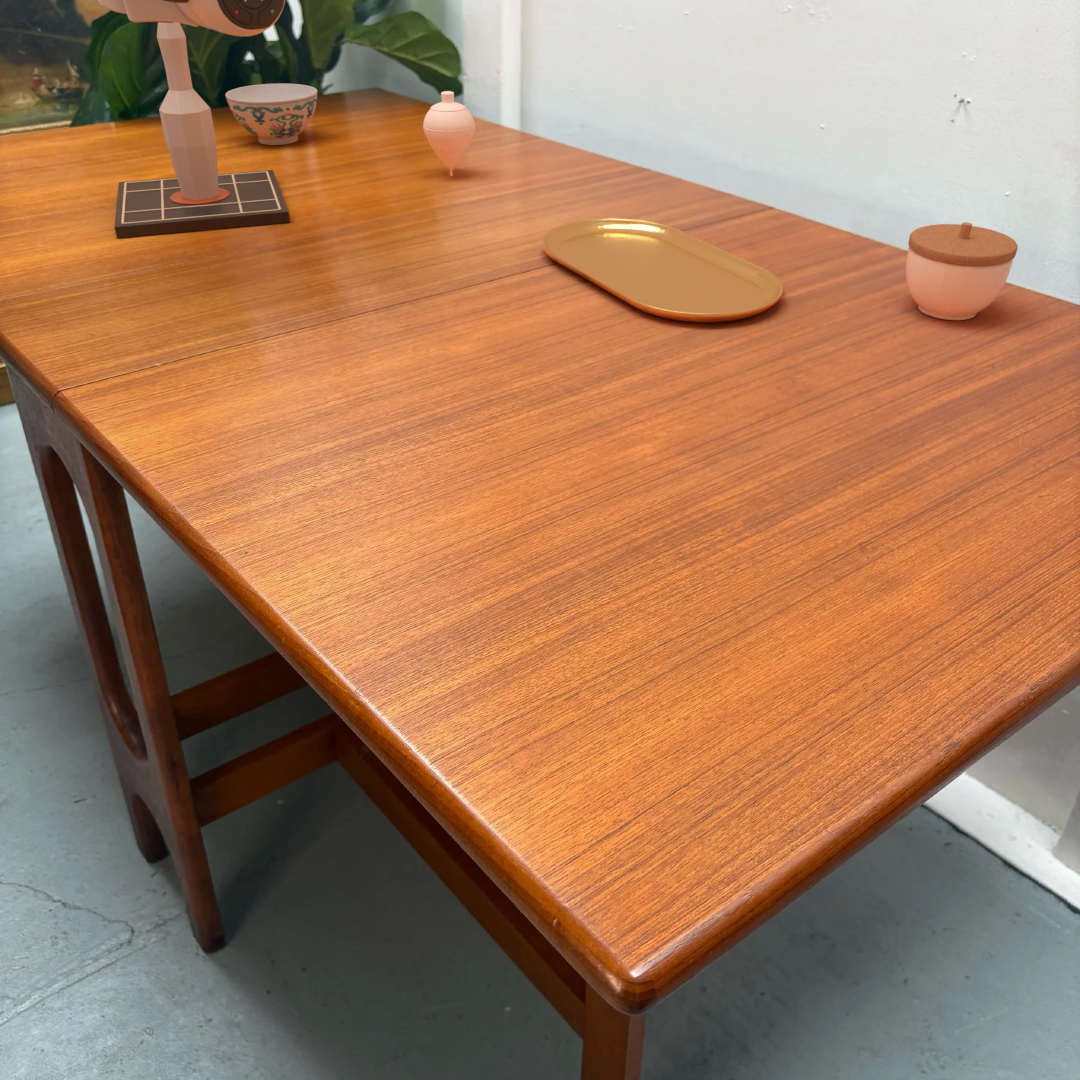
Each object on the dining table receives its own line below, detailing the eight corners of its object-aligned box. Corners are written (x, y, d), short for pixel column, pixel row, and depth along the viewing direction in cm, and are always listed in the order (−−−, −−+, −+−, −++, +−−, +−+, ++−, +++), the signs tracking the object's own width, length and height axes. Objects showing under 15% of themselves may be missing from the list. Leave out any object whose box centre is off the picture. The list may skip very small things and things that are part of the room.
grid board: (116, 238, 131) (114, 226, 130) (120, 192, 148) (118, 181, 147) (290, 222, 137) (288, 210, 136) (274, 180, 154) (272, 169, 153)
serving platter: (636, 222, 137) (637, 210, 136) (817, 307, 112) (819, 293, 111) (514, 244, 129) (513, 232, 128) (678, 341, 104) (679, 326, 103)
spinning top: (484, 178, 154) (482, 94, 147) (438, 185, 151) (433, 99, 144) (463, 167, 160) (460, 84, 153) (418, 173, 157) (413, 89, 150)
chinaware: (236, 132, 179) (228, 85, 175) (322, 128, 181) (317, 82, 177) (230, 153, 167) (221, 103, 163) (322, 149, 169) (317, 99, 165)
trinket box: (1010, 304, 112) (1033, 219, 107) (984, 337, 105) (1008, 247, 99) (912, 285, 117) (930, 202, 112) (882, 314, 110) (899, 228, 104)
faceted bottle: (206, 186, 145) (174, 14, 133) (233, 194, 142) (204, 18, 129) (167, 196, 141) (131, 19, 129) (195, 204, 138) (160, 24, 125)
